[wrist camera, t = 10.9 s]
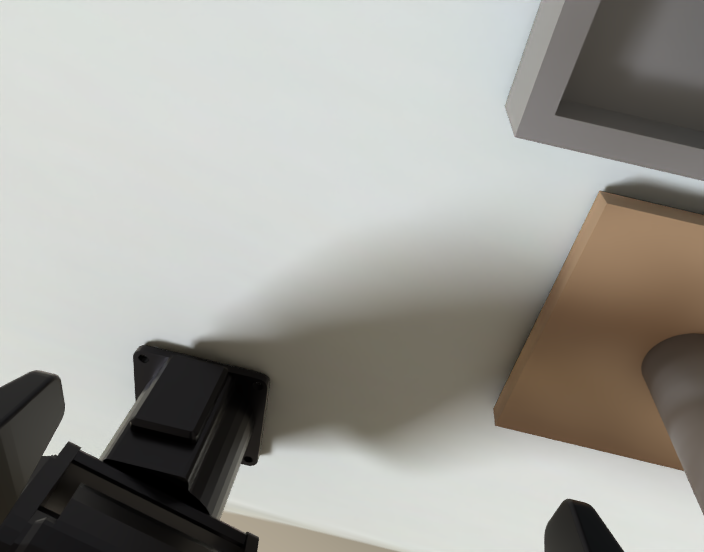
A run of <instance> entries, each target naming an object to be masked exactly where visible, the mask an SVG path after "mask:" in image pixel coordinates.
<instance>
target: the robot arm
mask: <svg viewBox="0 0 704 552" xmlns="http://www.w3.org/2000/svg"><path fill="white" fill-rule="evenodd" d="M144 355H145V356H144ZM133 362H134V380H135V398H136V402H135V404H134V405H133V407H132V408H131V410H130V411H129V413H128V415H127V416H126V418H125V419H124V421H123V422H122V424H121V425H120V427H119V429H118V430H117V432H116V433H115V435H114V436H113V438H112V439H111V441H110V443H109V444H108V446H107V447H106V449H105V450H104V452H103V453H102V455H101V457H100V458H99V459H98V458H96V457H94V456H92V455H90V454H88V453H86V452H84V451H82V450H80V449H81V447H79V446H77V445H75V444H73V443H71V442H68V443H67V444H66V445H65V447H64V448H63V449H62V451H61V452H60V453H59V455H58V456H57V455H54V456H53V455H51V456H42V455H43V453H44V451H45V449H46V448H47V446H48V444H49V442H50V440H51V438H52V437H53V435H54V433H55V431H56V429H57V427H58V426H59V424H60V422H61V420H62V418H63V415H64V411H65V403H64V397H63V390H62V384H61V379H60V378H59V376H58V375H56V374H52V373H48V372H44V371H39V370H36V371H32V372H29V373H27V374H25V375H23V376H21V377H19V378H17V379H15V380H13V381H11V382H9V383H7V384H6V385H4V386H2V387H0V552H257V548H258V541H259V537H257V536H255V535H253V534H251V533H249V532H246V533H244V532H242V531H240V530H238V529H236V528H234V527H232V526H230V525H228V524H226V523H224V522H222V521H220V518H221V515H222V512H223V510H224V507H225V504H226V502H227V499H228V496H229V494H230V491H231V488H232V486H233V483H234V480H235V478H236V475H237V472H238V470H239V467H240V464H244V465H249V466H252V465H255V464H257V462H258V459H259V456H260V449H261V442H262V435H263V428H264V421H265V414H266V407H267V400H268V393H269V386H270V380H269V378H268V377H267V376H266V375H265V374H262V373H259V372H255V371H251V370H247V369H242V368H238V367H234V366H230V365H226V364H222V363H217V362H213V361H209V360H205V359H201V358H197V357H192V356H188V355H184V354H180V353H176V352H172V351H167V350H163V349H159V348H155V347H151V346H146V345H142V346H140V347H139V348H138V349H137V350H136V351H135V353H134V355H133ZM256 382H258V383H260V384H258V383H256ZM544 546H545V552H624V551H623V549H622V548H621V547H620V545H619V544H618V542H617V541H616V539H615V538H614V537H613V535H612V534H611V532H610V531H609V529H608V528H607V527H606V525H605V524H604V522H603V521H602V519H601V518H600V517H599V515H598V514H597V512H596V511H595V509H594V508H593V507H592V506H591V505H589V504H587V503H585V502H580V501H576V500H572V499H566V500H564V501H563V502H562V503H561V505H560V506H559V508H558V509H557V510H556V512H555V513H554V515H553V516H552V518H551V519H550V521H549V522H548V524H547V526H546V529H545V536H544Z"/></svg>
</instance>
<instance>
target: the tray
mask: <svg viewBox="0 0 704 552" xmlns="http://www.w3.org/2000/svg"><path fill="white" fill-rule="evenodd" d="M505 109H506V112H507V115H508V118H509V121H510V124H511V127H512V130H513V133H514V136H515V137H517V138H521V139H525V140H530V141H534V142H538V143H543V144H547V145H551V146H556V147H560V148H564V149H569V150H573V151H577V152H582V153H586V154H590V155H594V156H599V157H603V158H607V159H612V160H616V161H620V162H625V163H629V164H633V165H638V166H642V167H646V168H650V169H655V170H659V171H663V172H668V173H672V174H676V175H681V176H685V177H689V178H694V179H698V180H702V181H704V0H541V3H540V6H539V8H538V11H537V14H536V17H535V20H534V23H533V26H532V29H531V32H530V35H529V37H528V40H527V43H526V46H525V49H524V52H523V55H522V58H521V61H520V63H519V66H518V69H517V72H516V75H515V78H514V81H513V84H512V87H511V89H510V92H509V95H508V98H507V101H506V104H505Z"/></svg>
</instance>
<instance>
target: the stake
mask: <svg viewBox="0 0 704 552" xmlns="http://www.w3.org/2000/svg"><path fill="white" fill-rule="evenodd" d="M493 410H494V419H495V426H499V427H503V428H507V429H512V430H516V431H520V432H524V433H528V434H532V435H537V436H541V437H545V438H549V439H553V440H557V441H562V442H566V443H570V444H574V445H578V446H582V447H587V448H591V449H595V450H599V451H603V452H607V453H612V454H616V455H620V456H624V457H628V458H632V459H637V460H641V461H645V462H649V463H653V464H657V465H662V466H666V467H670V468H674V469H678V470H682V471H685V473H686V476H687V478H688V480H689V483H690V485H691V487H692V489H693V492H694V494H695V496H696V499H697V501H698V503H699V505H700V508H701V510H702V512H703V515H704V215H702V214H697V213H693V212H689V211H684V210H680V209H676V208H671V207H667V206H663V205H659V204H654V203H650V202H646V201H641V200H637V199H633V198H629V197H624V196H620V195H616V194H611V193H607V192H603V191H599V193H598V195H597V197H596V199H595V201H594V203H593V205H592V207H591V209H590V211H589V213H588V216H587V218H586V220H585V222H584V224H583V226H582V228H581V230H580V232H579V234H578V236H577V238H576V240H575V242H574V244H573V246H572V248H571V250H570V252H569V255H568V257H567V259H566V261H565V263H564V265H563V267H562V269H561V271H560V273H559V275H558V277H557V279H556V281H555V283H554V285H553V287H552V289H551V291H550V293H549V296H548V298H547V300H546V302H545V304H544V306H543V308H542V310H541V312H540V314H539V316H538V318H537V320H536V322H535V324H534V326H533V328H532V330H531V332H530V335H529V337H528V339H527V341H526V343H525V345H524V347H523V349H522V351H521V353H520V355H519V357H518V359H517V361H516V363H515V365H514V367H513V369H512V371H511V373H510V376H509V378H508V380H507V382H506V384H505V386H504V388H503V390H502V392H501V394H500V396H499V398H498V400H497V402H496V404H495V406H494V408H493Z"/></svg>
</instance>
